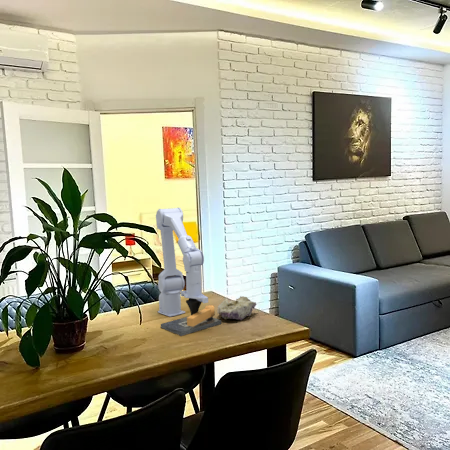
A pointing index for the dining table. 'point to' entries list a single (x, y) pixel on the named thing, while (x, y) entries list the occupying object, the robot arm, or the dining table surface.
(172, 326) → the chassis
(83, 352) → the dining table surface
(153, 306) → the dining table surface
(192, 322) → the orange rectangular block
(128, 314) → the dining table surface
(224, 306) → the geode
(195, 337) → the dining table surface
